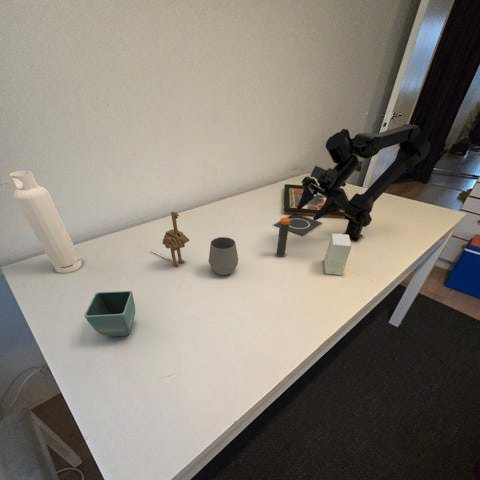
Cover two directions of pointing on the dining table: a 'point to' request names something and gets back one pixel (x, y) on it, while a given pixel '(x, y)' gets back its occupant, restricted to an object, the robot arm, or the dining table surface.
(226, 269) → the cup
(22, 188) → the bottle
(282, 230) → the marker
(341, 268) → the small box
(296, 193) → the framed painting
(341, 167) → the robot arm
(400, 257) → the dining table surface
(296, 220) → the board
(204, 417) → the dining table surface
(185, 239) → the ostrich figurine
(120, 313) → the flower pot
